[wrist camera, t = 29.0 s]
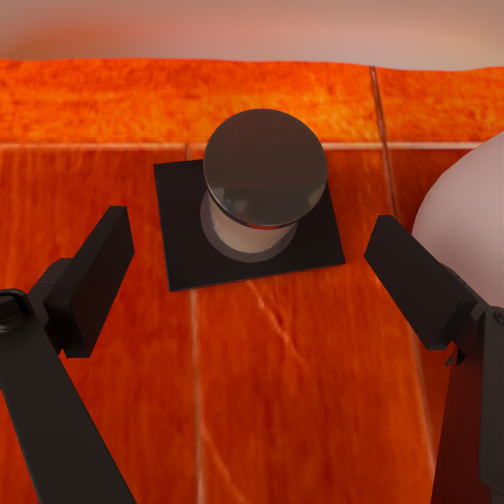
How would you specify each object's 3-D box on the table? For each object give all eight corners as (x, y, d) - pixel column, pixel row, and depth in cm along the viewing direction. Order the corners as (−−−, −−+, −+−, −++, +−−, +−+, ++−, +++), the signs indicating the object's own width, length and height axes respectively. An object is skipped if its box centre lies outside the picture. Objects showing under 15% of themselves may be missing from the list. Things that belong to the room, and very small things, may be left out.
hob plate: (171, 292, 25) (168, 292, 23) (156, 170, 26) (152, 163, 25) (340, 265, 26) (346, 263, 25) (315, 153, 28) (320, 145, 27)
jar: (215, 259, 24) (212, 233, 15) (204, 179, 25) (195, 112, 16) (297, 248, 25) (339, 217, 16) (283, 171, 26) (315, 103, 17)
